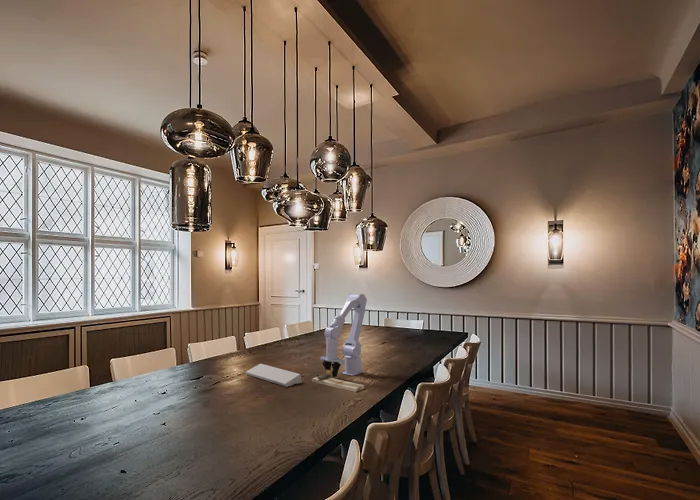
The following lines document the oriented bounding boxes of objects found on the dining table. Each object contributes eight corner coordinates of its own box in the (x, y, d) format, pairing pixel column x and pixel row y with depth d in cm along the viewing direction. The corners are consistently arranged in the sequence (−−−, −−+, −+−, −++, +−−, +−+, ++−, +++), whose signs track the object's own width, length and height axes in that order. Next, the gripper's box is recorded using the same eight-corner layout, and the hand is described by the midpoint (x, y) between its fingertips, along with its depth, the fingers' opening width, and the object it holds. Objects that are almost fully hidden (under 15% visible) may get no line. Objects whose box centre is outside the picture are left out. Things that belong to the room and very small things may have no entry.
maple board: (320, 378, 198) (320, 375, 198) (364, 388, 181) (364, 385, 181) (311, 381, 192) (311, 378, 193) (355, 392, 175) (355, 388, 176)
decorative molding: (287, 392, 184) (302, 382, 192) (285, 383, 183) (300, 374, 191) (247, 379, 207) (262, 371, 214) (245, 371, 206) (260, 363, 213)
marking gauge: (331, 377, 201) (331, 367, 201) (337, 378, 198) (337, 368, 198) (316, 382, 191) (316, 372, 191) (321, 384, 188) (321, 373, 189)
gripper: (316, 349, 199) (316, 375, 199) (337, 353, 191) (337, 380, 190) (325, 347, 205) (325, 372, 204) (346, 350, 196) (346, 377, 195)
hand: (331, 376), depth 197 cm, fingers closed on marking gauge, 4 cm apart
